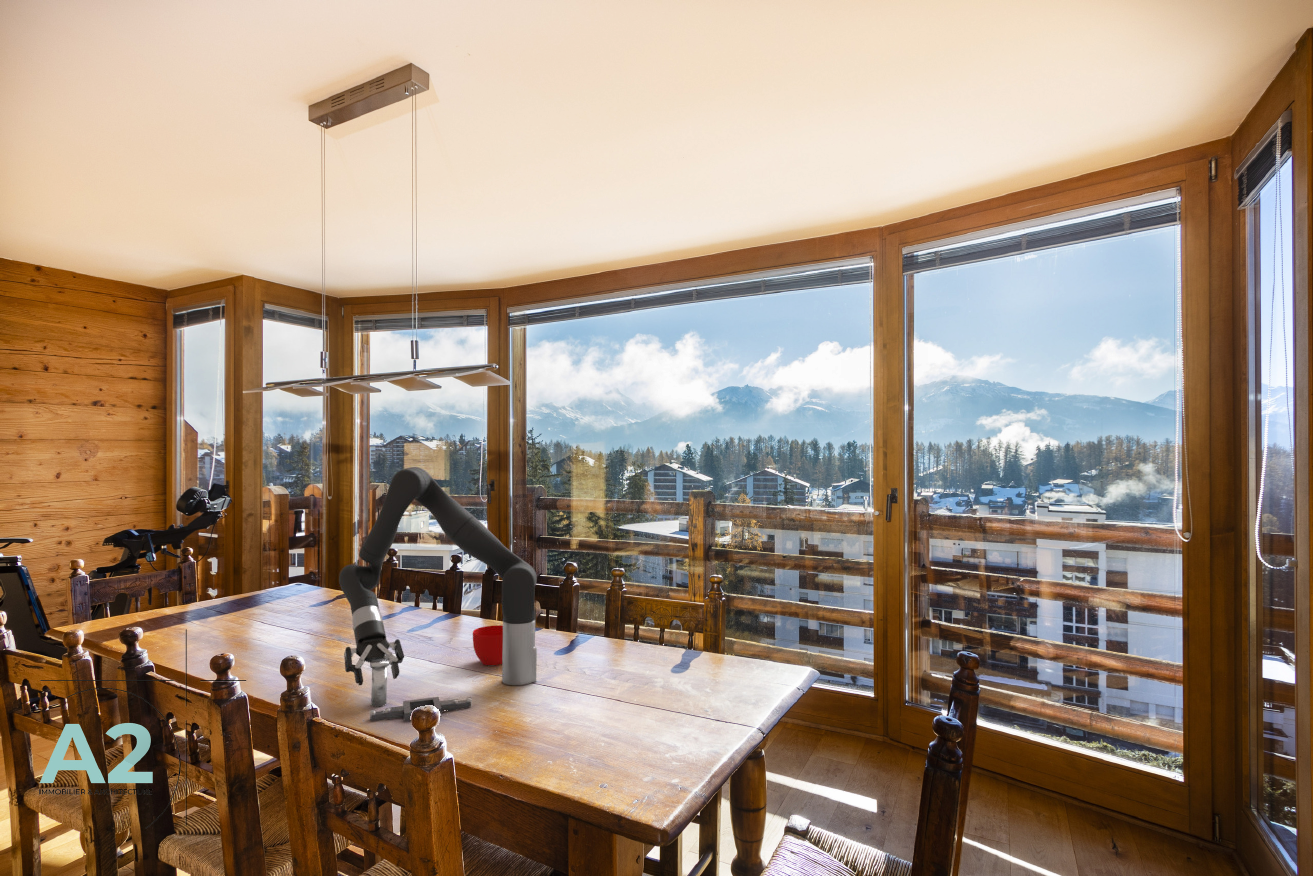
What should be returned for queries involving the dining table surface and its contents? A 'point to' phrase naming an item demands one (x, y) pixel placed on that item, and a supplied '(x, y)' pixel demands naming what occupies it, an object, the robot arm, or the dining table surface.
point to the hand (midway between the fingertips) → (378, 680)
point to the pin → (379, 682)
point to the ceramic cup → (489, 644)
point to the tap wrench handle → (412, 704)
